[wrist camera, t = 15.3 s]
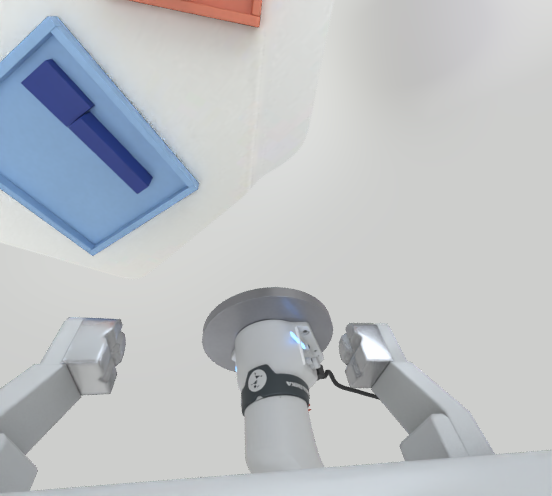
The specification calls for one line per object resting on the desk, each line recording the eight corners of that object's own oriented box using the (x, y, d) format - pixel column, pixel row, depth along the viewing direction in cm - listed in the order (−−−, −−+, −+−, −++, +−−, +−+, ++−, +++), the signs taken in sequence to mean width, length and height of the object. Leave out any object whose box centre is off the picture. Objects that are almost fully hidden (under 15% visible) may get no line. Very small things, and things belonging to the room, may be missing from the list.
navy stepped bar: (27, 80, 29) (11, 85, 27) (52, 58, 28) (37, 61, 26) (137, 188, 37) (131, 198, 35) (159, 173, 36) (154, 183, 34)
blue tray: (199, 183, 38) (197, 189, 36) (97, 248, 42) (92, 256, 41) (57, 16, 26) (47, 16, 25) (-62, 129, 31) (-76, 134, 29)
